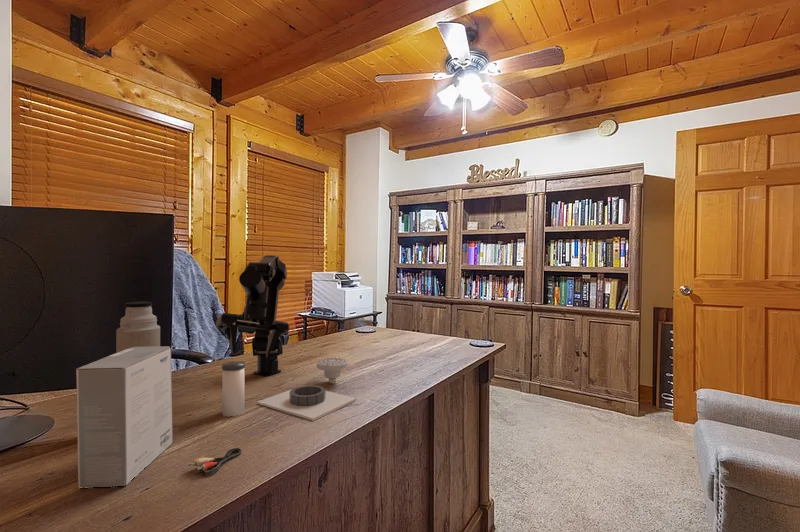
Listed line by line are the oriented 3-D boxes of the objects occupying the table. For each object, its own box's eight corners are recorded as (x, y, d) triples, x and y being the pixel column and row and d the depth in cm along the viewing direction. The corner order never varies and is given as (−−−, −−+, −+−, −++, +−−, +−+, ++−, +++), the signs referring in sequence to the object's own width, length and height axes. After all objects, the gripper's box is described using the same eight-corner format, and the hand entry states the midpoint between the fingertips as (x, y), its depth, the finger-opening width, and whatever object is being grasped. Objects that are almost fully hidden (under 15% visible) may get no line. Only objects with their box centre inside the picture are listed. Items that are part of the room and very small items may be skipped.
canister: (217, 413, 93) (217, 364, 93) (236, 407, 98) (236, 360, 98) (230, 418, 91) (230, 367, 91) (249, 411, 95) (249, 362, 95)
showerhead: (311, 362, 114) (322, 354, 124) (311, 387, 114) (321, 377, 124) (343, 363, 113) (350, 355, 123) (343, 388, 113) (350, 378, 123)
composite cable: (236, 451, 76) (236, 438, 76) (251, 458, 73) (251, 445, 73) (185, 474, 67) (185, 460, 67) (200, 482, 65) (200, 468, 65)
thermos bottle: (142, 419, 90) (143, 299, 90) (168, 424, 87) (168, 301, 87) (107, 433, 82) (107, 302, 82) (134, 439, 80) (134, 304, 79)
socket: (257, 403, 100) (257, 392, 100) (303, 387, 114) (303, 377, 114) (313, 421, 89) (313, 408, 89) (356, 400, 103) (356, 389, 103)
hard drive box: (133, 445, 77) (133, 346, 77) (173, 443, 78) (173, 345, 78) (74, 490, 62) (75, 366, 62) (125, 488, 62) (125, 366, 62)
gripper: (277, 315, 122) (273, 364, 115) (214, 305, 112) (205, 358, 105) (291, 303, 115) (288, 356, 107) (225, 291, 104) (217, 348, 97)
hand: (250, 355), depth 104 cm, fingers open, 9 cm apart
